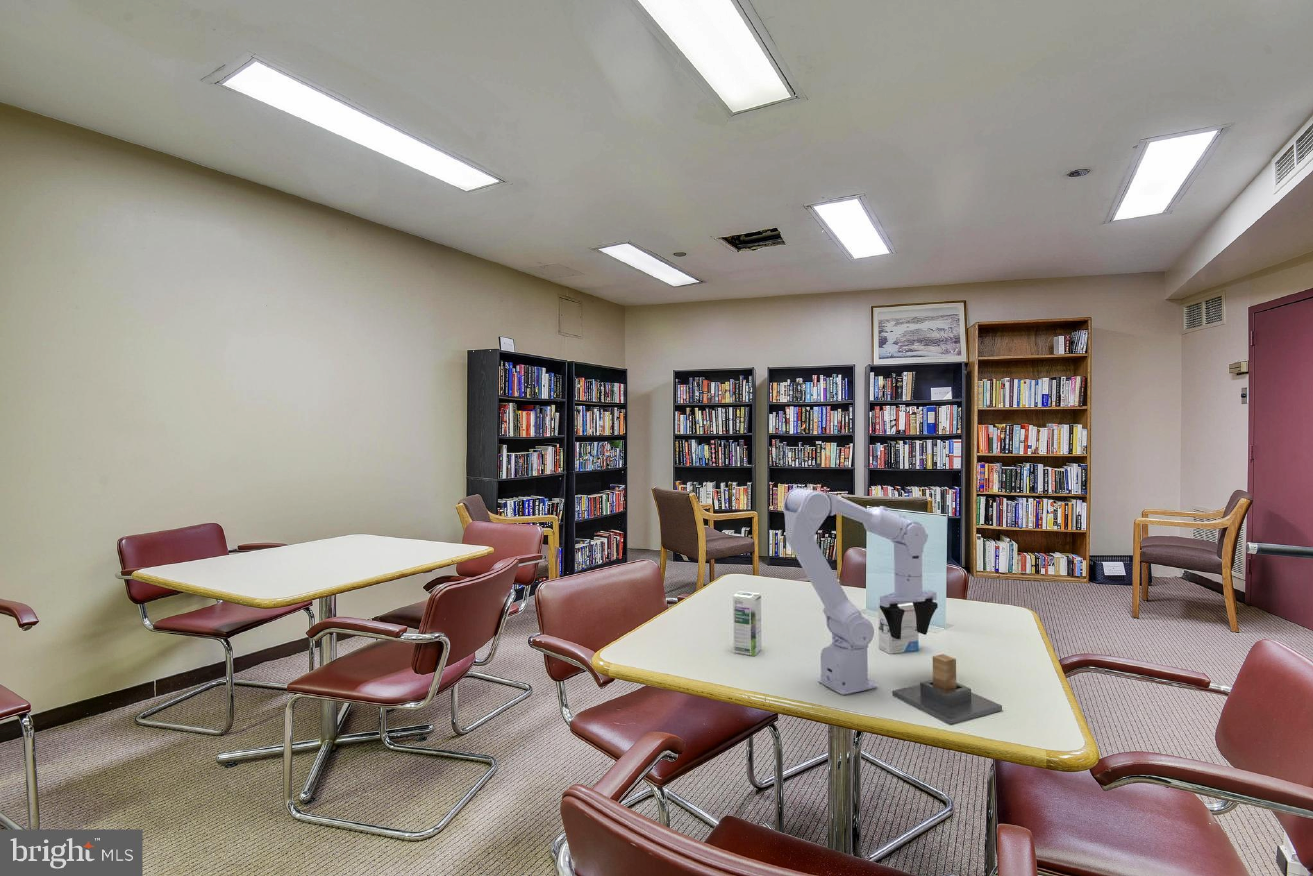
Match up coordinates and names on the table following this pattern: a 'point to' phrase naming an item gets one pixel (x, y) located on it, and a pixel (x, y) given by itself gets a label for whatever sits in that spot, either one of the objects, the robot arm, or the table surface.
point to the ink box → (907, 632)
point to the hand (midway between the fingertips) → (909, 635)
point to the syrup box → (747, 622)
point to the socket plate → (947, 702)
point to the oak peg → (944, 672)
